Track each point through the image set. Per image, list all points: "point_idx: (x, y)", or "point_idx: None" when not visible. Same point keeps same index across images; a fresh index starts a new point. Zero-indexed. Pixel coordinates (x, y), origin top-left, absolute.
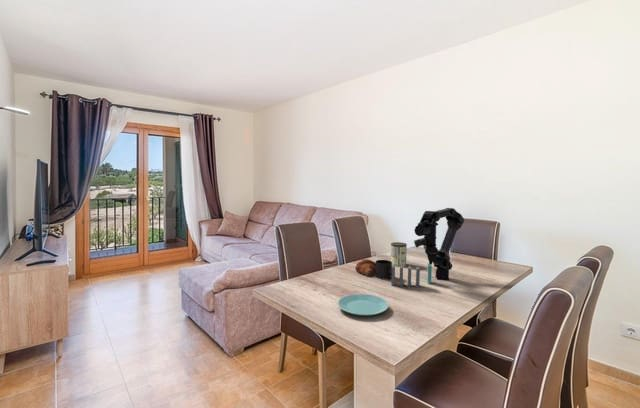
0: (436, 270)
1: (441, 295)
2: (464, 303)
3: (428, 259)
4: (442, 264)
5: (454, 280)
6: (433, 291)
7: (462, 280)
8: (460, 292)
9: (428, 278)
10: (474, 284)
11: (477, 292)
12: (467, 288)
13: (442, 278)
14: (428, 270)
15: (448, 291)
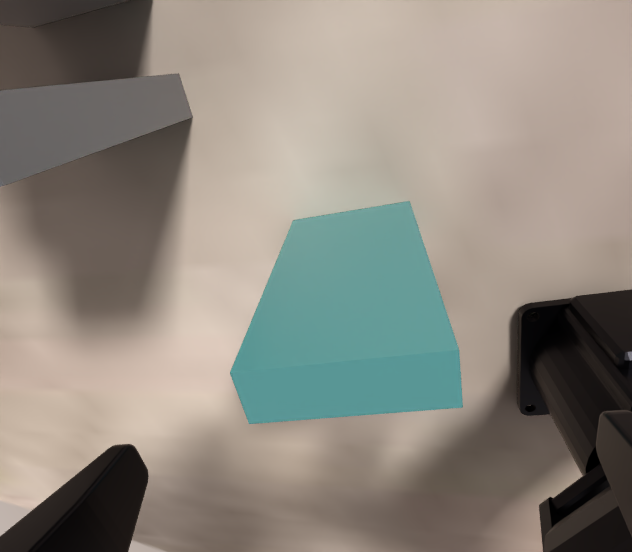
0: (619, 359)
1: (36, 351)
2: (3, 467)
3: (609, 431)
4: (549, 548)
5: (533, 443)
6: (86, 289)
7: (552, 493)
8: (205, 462)
9: (281, 253)
10: (458, 546)
11: (271, 540)
12: (330, 504)
13: (532, 361)
14: (254, 315)
15: (173, 395)
